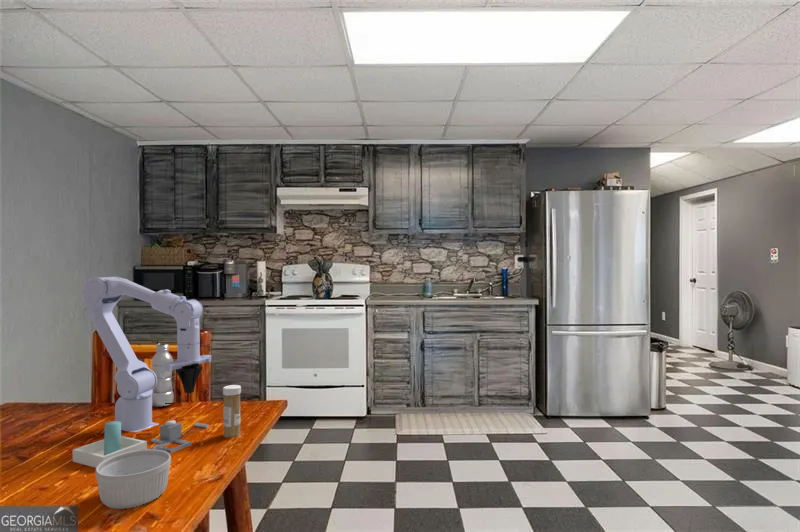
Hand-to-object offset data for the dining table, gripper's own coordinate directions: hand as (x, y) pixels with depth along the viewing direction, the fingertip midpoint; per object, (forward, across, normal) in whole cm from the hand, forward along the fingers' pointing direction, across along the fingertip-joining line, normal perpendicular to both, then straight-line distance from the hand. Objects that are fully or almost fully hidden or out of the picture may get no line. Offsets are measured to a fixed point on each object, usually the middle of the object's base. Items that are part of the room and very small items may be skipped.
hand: (189, 392), depth 137 cm
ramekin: (+11, -33, -22) cm, 41 cm away
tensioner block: (+10, -16, -8) cm, 21 cm away
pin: (+10, -22, +1) cm, 24 cm away
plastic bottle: (+10, +13, +26) cm, 31 cm away
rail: (+10, -5, -2) cm, 12 cm away
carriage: (+10, -8, -2) cm, 13 cm away
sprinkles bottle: (+11, +1, -15) cm, 18 cm away
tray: (+10, -22, +1) cm, 24 cm away
